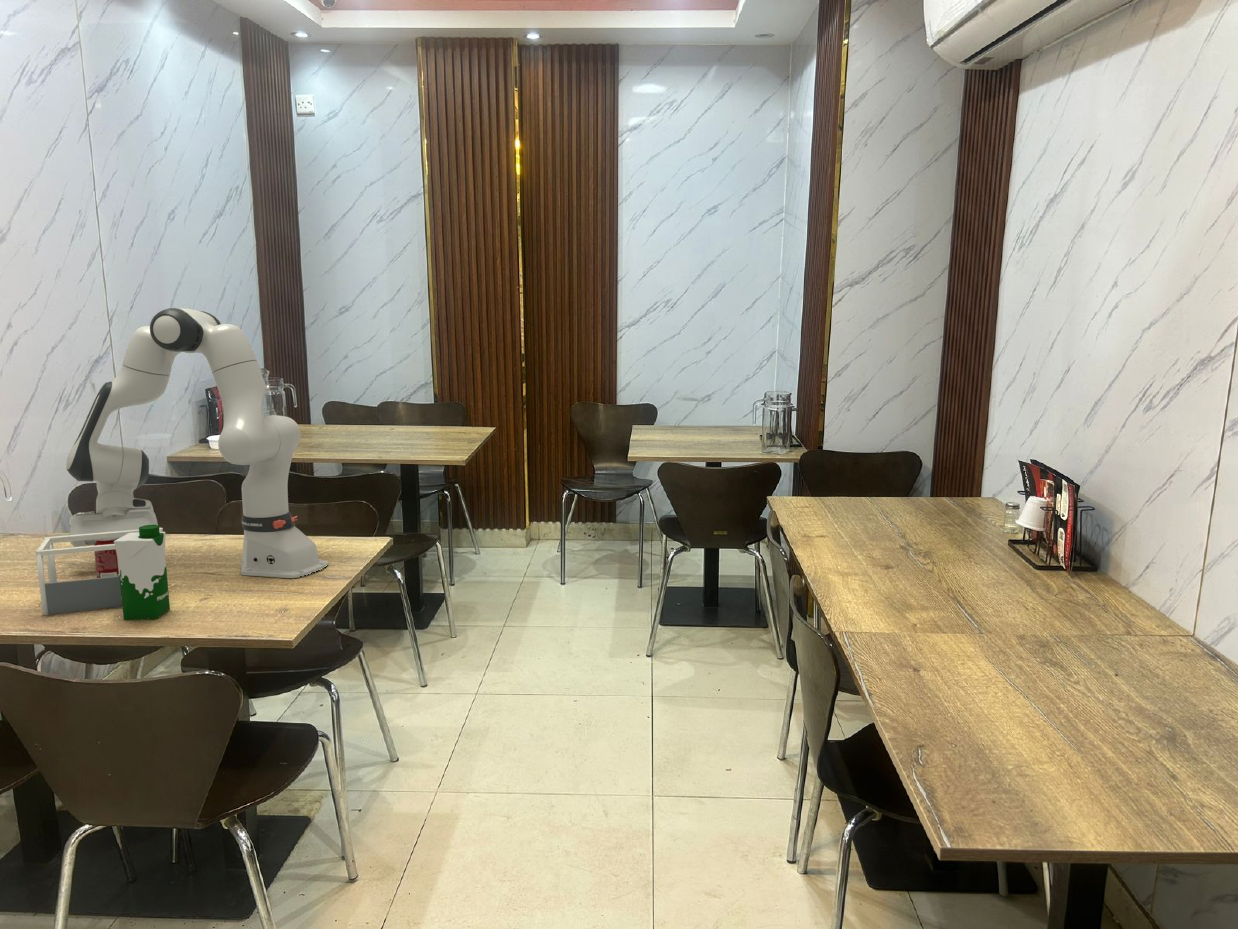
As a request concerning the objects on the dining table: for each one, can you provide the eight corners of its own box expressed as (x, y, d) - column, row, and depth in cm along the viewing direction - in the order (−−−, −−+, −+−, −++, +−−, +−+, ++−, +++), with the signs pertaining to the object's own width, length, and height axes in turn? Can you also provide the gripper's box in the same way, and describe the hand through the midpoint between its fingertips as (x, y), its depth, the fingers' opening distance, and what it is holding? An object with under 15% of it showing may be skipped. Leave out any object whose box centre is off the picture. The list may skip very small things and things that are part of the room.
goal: (51, 597, 218) (44, 537, 215) (167, 585, 227) (162, 527, 224) (41, 615, 206) (34, 551, 203) (164, 601, 215) (159, 540, 212)
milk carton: (159, 620, 202) (151, 531, 199) (116, 621, 202) (107, 532, 198) (176, 607, 211) (168, 522, 207) (135, 608, 211) (126, 522, 207)
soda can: (119, 588, 225) (114, 540, 222) (92, 588, 225) (87, 540, 223) (134, 580, 231) (130, 533, 229) (107, 579, 231) (103, 533, 229)
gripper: (67, 506, 235) (65, 554, 228) (157, 500, 243) (157, 545, 236) (71, 520, 240) (69, 566, 233) (159, 513, 248) (160, 558, 241)
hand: (114, 556), depth 234 cm, fingers closed
